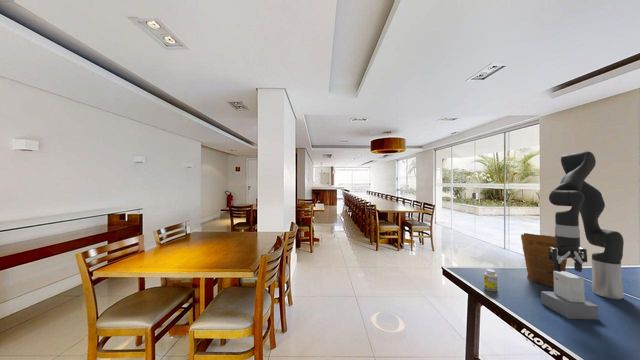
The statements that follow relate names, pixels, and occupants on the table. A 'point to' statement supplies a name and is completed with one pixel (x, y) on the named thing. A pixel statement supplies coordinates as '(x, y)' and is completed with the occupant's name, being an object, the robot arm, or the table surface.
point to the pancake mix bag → (540, 258)
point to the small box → (569, 286)
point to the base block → (569, 306)
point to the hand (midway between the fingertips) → (567, 271)
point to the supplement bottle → (490, 280)
